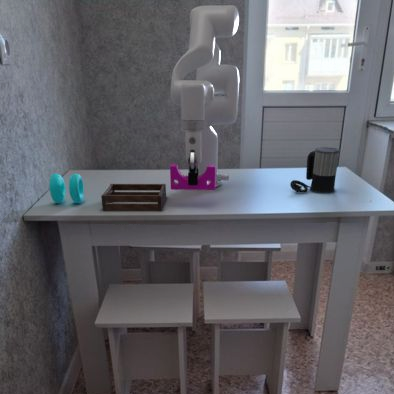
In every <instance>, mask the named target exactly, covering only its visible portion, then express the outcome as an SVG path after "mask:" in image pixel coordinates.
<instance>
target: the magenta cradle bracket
mask: <svg viewBox="0 0 394 394" xmlns="http://www.w3.org/2000/svg"><path fill="white" fill-rule="evenodd" d="M215 172H216V165H207V169H206V171H205V172H204V173H203V174H202V175H200V176H198V185H188V174H187V175H184V174H183V173H182V172H181V170H180V169H179V166H178V164H176V163H175V164H173V163H172V164H170V166H169V177H170V190H172V191H173V190H175V191H177V190H178V191H179V190H180V191H215V190H216V173H215ZM208 180H209V181H211V182H208ZM175 181H177V182H175Z"/></svg>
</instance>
